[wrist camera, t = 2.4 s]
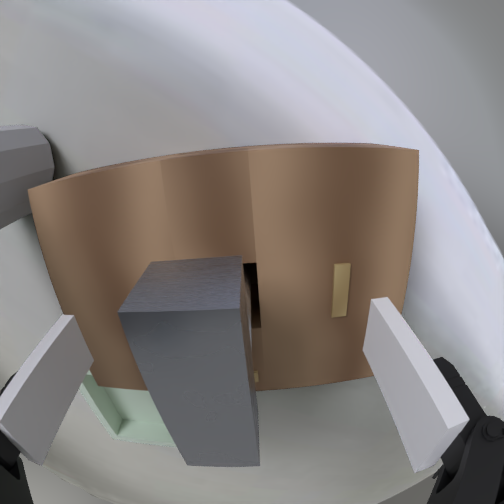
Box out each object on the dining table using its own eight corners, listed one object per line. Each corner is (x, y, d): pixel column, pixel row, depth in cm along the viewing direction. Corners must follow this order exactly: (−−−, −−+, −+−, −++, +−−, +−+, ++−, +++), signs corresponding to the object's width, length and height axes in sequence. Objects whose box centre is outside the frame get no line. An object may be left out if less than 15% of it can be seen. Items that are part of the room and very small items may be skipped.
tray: (119, 419, 28) (112, 438, 25) (78, 343, 23) (64, 363, 20) (227, 426, 28) (226, 448, 25) (208, 346, 23) (204, 372, 20)
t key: (212, 312, 21) (187, 465, 10) (196, 201, 18) (117, 312, 7) (254, 309, 21) (259, 466, 10) (245, 196, 18) (239, 308, 6)
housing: (122, 337, 23) (97, 387, 17) (79, 172, 18) (25, 190, 12) (360, 323, 23) (386, 375, 17) (371, 143, 17) (421, 150, 12)
